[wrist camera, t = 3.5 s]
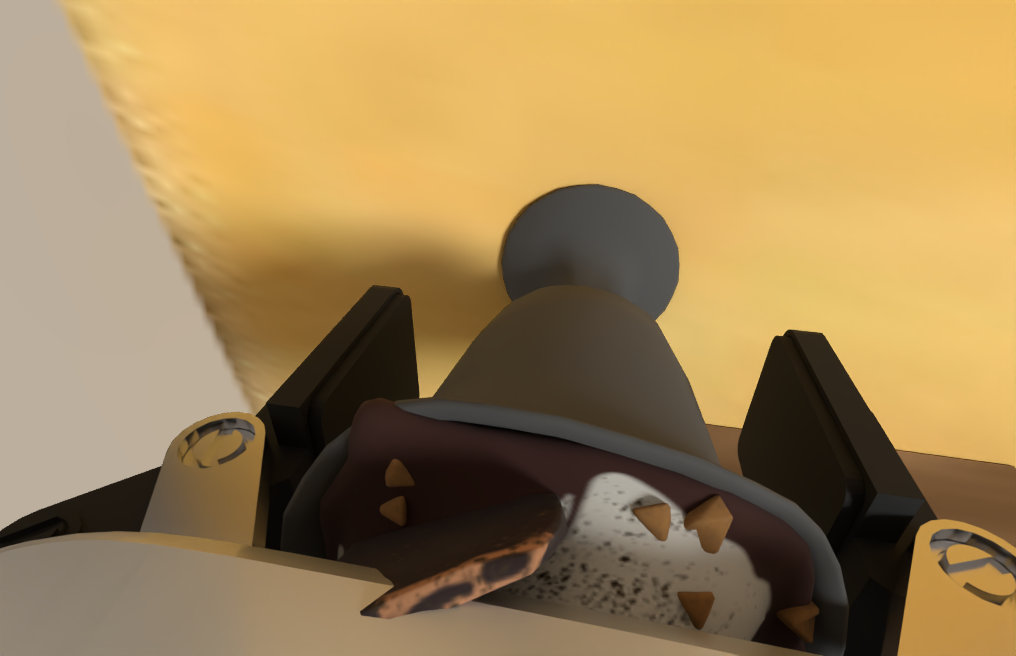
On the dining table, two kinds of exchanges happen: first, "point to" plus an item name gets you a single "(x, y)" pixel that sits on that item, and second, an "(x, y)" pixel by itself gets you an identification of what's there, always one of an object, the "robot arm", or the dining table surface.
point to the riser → (933, 485)
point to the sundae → (571, 460)
